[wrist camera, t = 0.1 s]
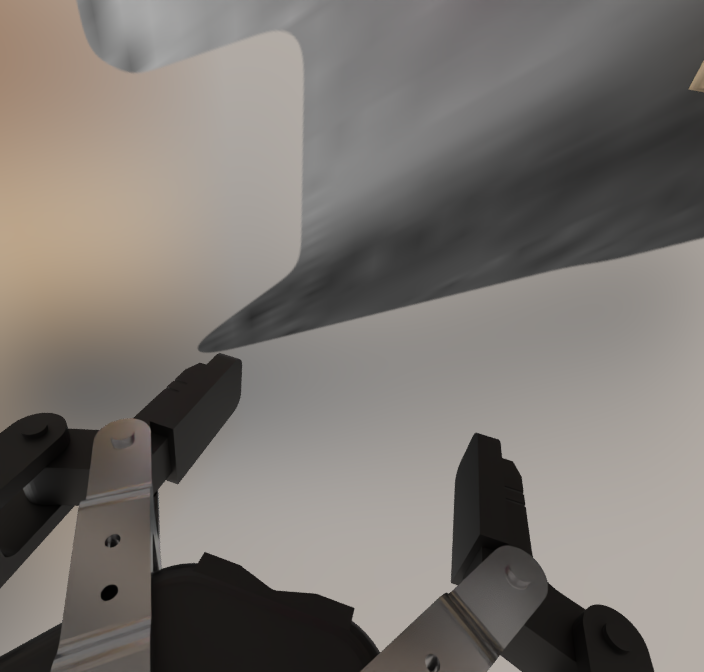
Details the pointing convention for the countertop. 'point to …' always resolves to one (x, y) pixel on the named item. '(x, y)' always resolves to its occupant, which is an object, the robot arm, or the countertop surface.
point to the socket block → (698, 80)
